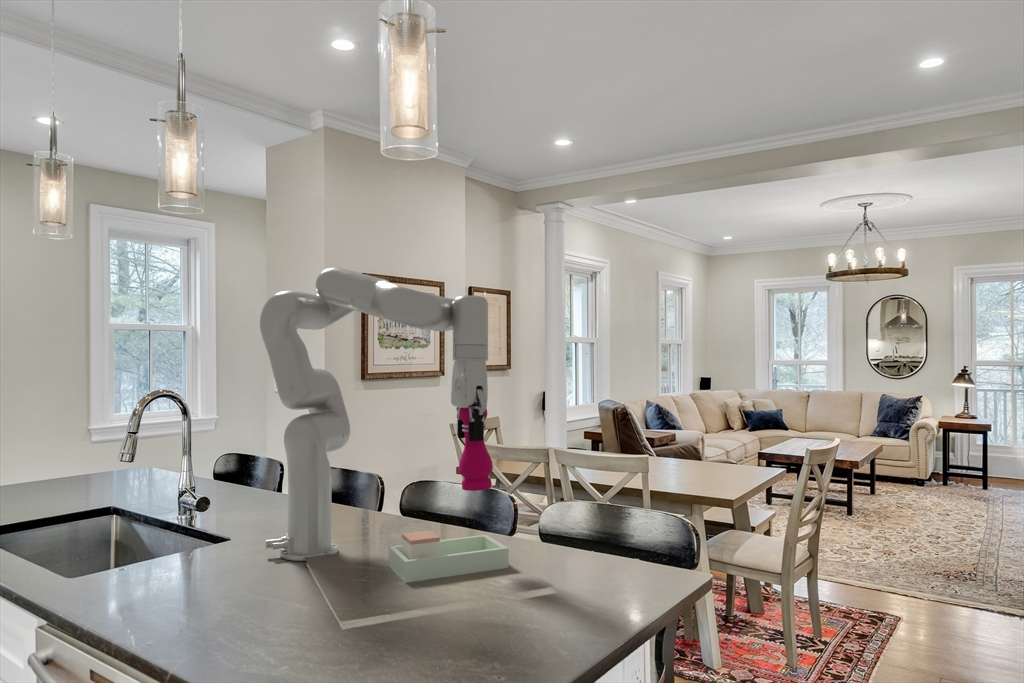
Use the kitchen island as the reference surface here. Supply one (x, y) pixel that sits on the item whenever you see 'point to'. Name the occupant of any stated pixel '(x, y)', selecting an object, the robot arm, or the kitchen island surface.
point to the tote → (451, 559)
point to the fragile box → (420, 545)
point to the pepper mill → (474, 459)
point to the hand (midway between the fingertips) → (470, 438)
